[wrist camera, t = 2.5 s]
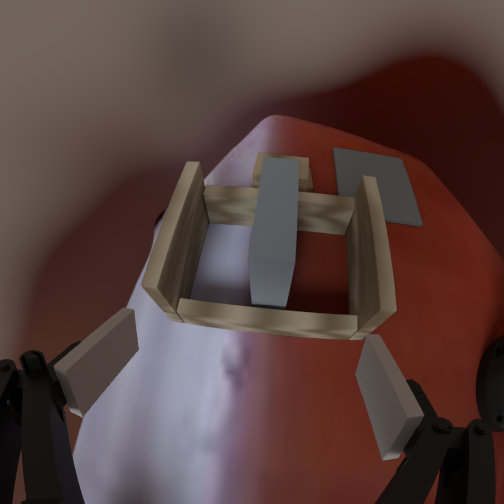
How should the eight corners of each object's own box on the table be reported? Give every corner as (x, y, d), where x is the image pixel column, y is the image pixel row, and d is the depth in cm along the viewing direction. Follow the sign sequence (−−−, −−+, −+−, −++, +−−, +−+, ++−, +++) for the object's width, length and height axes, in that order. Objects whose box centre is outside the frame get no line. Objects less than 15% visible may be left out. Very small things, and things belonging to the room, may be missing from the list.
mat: (400, 161, 47) (401, 158, 46) (421, 226, 39) (422, 224, 38) (332, 149, 48) (333, 147, 48) (339, 215, 40) (340, 213, 39)
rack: (355, 227, 39) (375, 177, 30) (361, 340, 30) (396, 310, 22) (200, 213, 41) (186, 161, 32) (171, 320, 32) (141, 285, 24)
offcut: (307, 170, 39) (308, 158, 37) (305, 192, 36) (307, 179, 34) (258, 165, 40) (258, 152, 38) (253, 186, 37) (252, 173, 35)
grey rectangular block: (289, 233, 39) (298, 159, 28) (283, 317, 32) (295, 262, 21) (263, 231, 39) (263, 157, 28) (252, 314, 33) (247, 257, 22)
